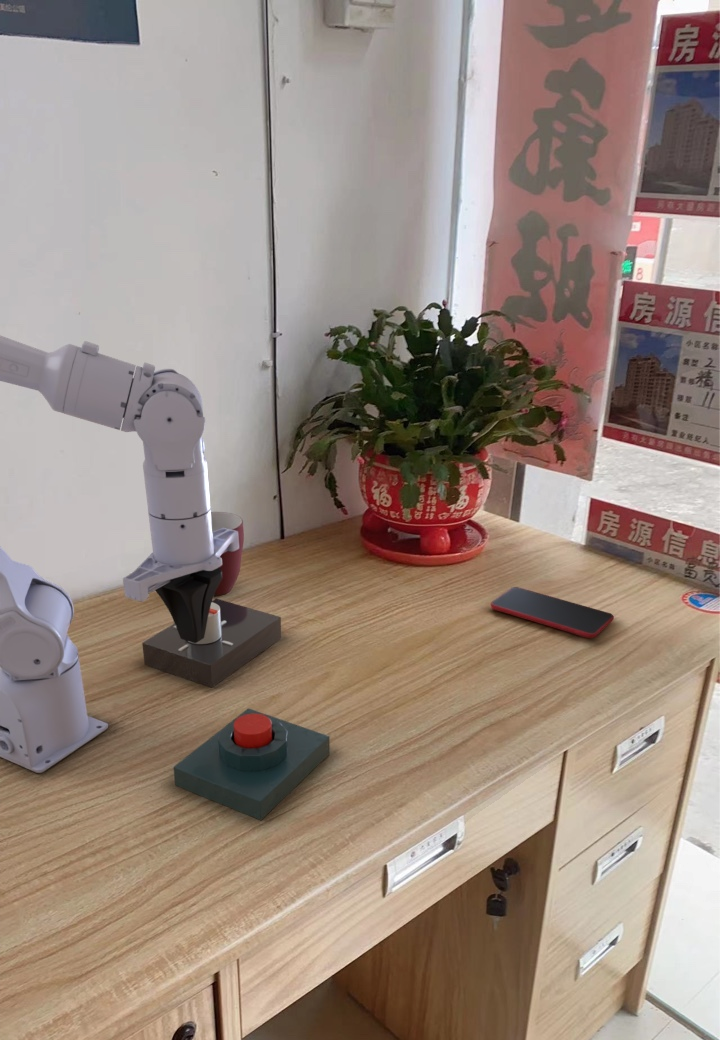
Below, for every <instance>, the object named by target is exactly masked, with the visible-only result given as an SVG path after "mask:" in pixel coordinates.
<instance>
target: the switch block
mask: <svg viewBox="0 0 720 1040" xmlns="http://www.w3.org/2000/svg"><path fill="white" fill-rule="evenodd" d="M246 714H262V715H265V716H267V717H268V718H269V719H270V720H271V723H272V740H271V742H270V743H269V744H268V745H266V746H263V747H260V748H243V747H240V746H238V745H237V744H236V743H235V741H234V722H235V720H236V719H237V718H239V717H241V716H243V715H246ZM330 738H331V737H330V736H329V735H327V734H324V733H321V732H318V731H315V730H313V729H310V728H308V727H304V726H300V725H298V724H295V723H292V722H289V721H286V720H283V719H281V718H278V717H275V716H272V715H270V714H266V713H263V712H260V711H257V710H255V709H251V708H247V709H245V710H244V711H243V712H241V713H240V714H239V715H238V716H236V717H235V718H233V720H231V721H230V722H229V723H227V725H225V726H224V727H223V728H222V729H220V730H219V731H217V732H216V733H215V734H214V735H212V736H211V737H210V738H208V739H207V740H206V741H205V742H203V743H202V744H201V745H200V746H198V747H197V748H196V749H194V750H193V751H192V752H191V753H190V754H188V755H187V756H186V757H184V758H183V759H181V760H180V761H179V762H177V764H176V765H174V766H173V776H174V785H175V787H178V788H180V789H183V790H184V791H185V790H186V791H188V792H191V793H193V794H196V795H198V796H201V797H203V798H205V799H207V800H210V801H212V802H215V803H218V804H220V805H222V806H225V807H227V808H229V809H232V810H234V811H237V812H239V813H242V814H244V815H246V816H249V817H252V818H254V819H256V820H260V821H262V820H263V819H264V818H265V817H266V816H267V815H268V814H269V813H270V812H271V811H272V810H274V809H275V808H276V807H277V806H278V805H279V804H280V803H281V802H282V801H283V800H284V799H285V798H286V797H287V796H288V795H289V794H290V793H291V792H292V791H293V790H294V789H295V788H296V787H297V786H298V785H299V784H300V783H301V782H302V781H304V779H305V778H307V776H309V775H310V774H311V772H312V771H314V770H315V769H316V768H317V767H318V766H319V765H320V764H321V763H322V762H323V761H324V760H325V759H326V758H327V757H328V756H330V749H331V748H330V744H331V743H330V741H331V739H330Z"/></svg>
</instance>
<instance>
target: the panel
mask: <svg viewBox="0 0 720 1040" xmlns="http://www.w3.org/2000/svg"><path fill="white" fill-rule="evenodd" d="M212 602H213V603H216V604H217V605H219V607H220V612H221V629H222V636H221V638H220V639H218V640H217V641H215V642H212V643H208V644H194V643H190V642H188V641H186V640H183V639H181V638H180V635H179V633H178V630H177V628H176V625H175V623H174V622H173V623H172V624H171V625H169V626H168V627H166V628H164V629H163V630H161V631H159V632H157V633H156V634H155V635H154V634H153V636H151V637H149V638H147V639H146V640H144V641H143V642H141V645H142V653H143V662H144V663H143V664H144V666H146V667H150V668H153V669H156V670H159V671H162V672H163V673H167V674H170V675H173V676H177V677H179V678H182V679H185V680H188V681H191V682H194V683H197V684H200V685H203V686H205V687H207V688H208V687H209V688H214V687H215V686H216V685H218V684H220V682H222V681H223V680H225V679H227V678H228V677H230V676H231V675H232V674H234V673H235V672H236V671H238V670H240V668H242V667H243V666H245V665H247V663H249V662H250V661H252V660H253V659H254V658H256V657H257V656H258V655H260V654H261V653H263V652H264V651H266V650H267V649H268V648H270V647H271V646H273V645H274V644H275V643H277V642H278V641H280V640H281V639H282V617H281V616H278V615H275V614H272V613H269V612H264V611H261V610H257V609H254V608H251V607H247V606H244V605H240V604H236V603H233V602H230V601H226V600H222V599H219V598H215V599H213V600H212Z"/></svg>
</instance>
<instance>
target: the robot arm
mask: <svg viewBox="0 0 720 1040" xmlns="http://www.w3.org/2000/svg"><path fill="white" fill-rule="evenodd" d="M99 350H100V346H99V345H98V344H96V343H92V342H90V341H86V340H85V341H83V343H82V344H81V347H80V346H78V345H74V344H72V343H67V344H65V345H63V346H61V347H59V348H57V349H56V350H53V351H50V352H48V351H44V350H42V349H39V348H36V347H33V346H30V345H28V344H26V343H22V342H19V341H17V340H14V339H11V338H8V337H6V336H3V335H0V382H3V383H7V384H11V385H15V386H18V387H22V388H27V389H30V390H34V391H38V392H39V393H40V394H41V395H42V396H43V398H44V399H45V400H46V402H47V403H48V405H49V406H50V408H51V409H52V410H53V411H55V412H57V413H61V414H64V415H67V416H71V417H74V418H77V419H80V420H84V421H87V422H91V423H94V424H97V425H101V426H105V427H106V428H107V427H108V428H111V429H114V430H117V431H121V432H124V433H131V432H132V433H133V432H134V433H135V432H136V433H137V436H138V437H139V438H140V440H141V441H142V446H143V453H144V454H143V455H144V460H143V463H142V470H143V477H144V487H145V494H146V504H147V513H148V521H149V529H150V530H149V531H150V539H151V546H152V552H151V553H150V554H149V555H148V556H147V557H146V558H145V559H144V561H142V562H141V563H140V564H139V565H138V566H137V568H135V570H133V571H132V572H131V573H130V574H128V575H126V576H124V577H123V578H122V584H123V590H124V591H123V592H124V597H125V598H128V599H130V600H133V601H137V602H141V603H142V602H144V601H147V600H148V599H149V594H150V593H152V592H155V593H157V595H158V596H159V598H160V599H161V600H162V602H163V603H164V605H165V606H166V608H167V610H168V612H169V614H170V616H171V618H172V620H173V624H174V623H175V625H176V628H177V630H178V633H179V635H180V638H181V639H183V640H186V641H189V642H193V643H197V642H199V641H200V640H202V639H203V638H204V636H205V631H206V625H207V620H208V615H209V610H210V606H211V603H212V601H213V600H214V597H215V595H214V594H215V592H216V590H217V587H218V585H219V584H220V582H221V580H222V570H221V569H220V568H218V567H220V566H221V565H222V558H221V557H220V556H221V555H222V554H223V553H224V552H226V551H232V552H233V551H236V550H237V549H239V537H238V531H235V530H231V529H226V528H221V529H219V530H216V531H214V532H212V520H211V512H212V509H211V507H212V506H211V496H210V495H211V494H210V483H209V471H208V462H207V458H206V456H205V451H206V449H205V448H206V446H205V440H204V438H203V437H202V436H203V434H204V431H205V427H206V418H205V416H204V409H203V400H202V396H201V393H200V391H199V389H198V387H197V386H196V384H194V382H193V381H192V380H190V379H189V378H188V377H187V376H185V375H183V374H181V373H179V372H177V371H176V370H175V369H174V368H162V369H158V370H156V366H155V365H154V364H151V363H148V362H143V365H142V366H140V365H136V364H133V363H130V362H127V361H124V360H120V359H118V358H115V357H112V356H108V355H105V354H103V353H99ZM74 613H75V607H74V603H73V600H72V598H71V596H70V595H69V593H67V591H66V590H65V589H63V587H61V586H59V585H58V584H56V583H54V582H51V581H49V580H47V579H45V578H43V577H42V576H40V574H39V573H37V572H36V570H35V569H34V568H33V567H32V566H31V565H29V564H25V563H22V562H18V561H15V560H13V559H12V558H11V557H10V555H9V554H8V553H7V552H6V551H5V550H4V549H3V548H2V547H1V546H0V758H2V759H4V760H7V761H9V762H11V763H14V764H15V765H18V766H20V767H22V768H25V769H27V770H29V771H32V772H34V773H37V774H41V773H44V772H46V771H47V770H48V769H50V768H51V767H53V766H54V765H56V764H57V763H59V762H60V761H62V760H63V759H65V758H66V757H68V756H70V754H72V753H74V752H75V751H76V750H78V749H80V748H81V747H82V746H84V745H85V744H87V743H88V742H90V741H91V740H93V739H94V738H96V737H97V736H99V735H100V734H102V733H103V732H105V731H106V730H107V729H108V728H109V724H108V723H107V722H106V721H102V720H99V719H97V718H95V717H93V716H89V715H88V710H87V709H88V708H87V702H86V697H85V689H84V682H83V677H82V671H81V663H80V656H79V650H78V648H77V646H76V645H75V644H74V642H73V641H72V640H71V638H70V636H69V635H68V632H69V628H70V625H71V624H72V621H73V619H74Z"/></svg>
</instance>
